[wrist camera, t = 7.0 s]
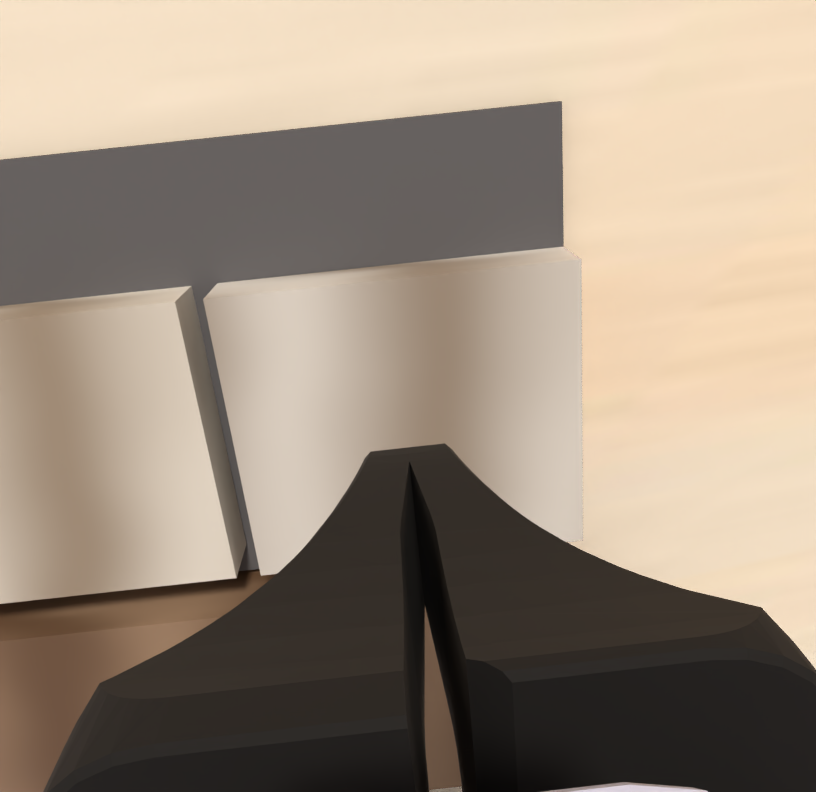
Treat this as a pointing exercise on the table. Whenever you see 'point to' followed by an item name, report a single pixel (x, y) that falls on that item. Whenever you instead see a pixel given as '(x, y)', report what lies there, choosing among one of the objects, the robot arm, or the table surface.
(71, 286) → the gray rectangular panel
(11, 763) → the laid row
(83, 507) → the plank
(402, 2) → the table surface
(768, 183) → the table surface
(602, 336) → the table surface
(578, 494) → the plank
